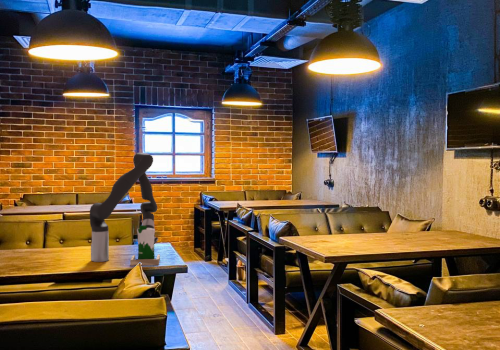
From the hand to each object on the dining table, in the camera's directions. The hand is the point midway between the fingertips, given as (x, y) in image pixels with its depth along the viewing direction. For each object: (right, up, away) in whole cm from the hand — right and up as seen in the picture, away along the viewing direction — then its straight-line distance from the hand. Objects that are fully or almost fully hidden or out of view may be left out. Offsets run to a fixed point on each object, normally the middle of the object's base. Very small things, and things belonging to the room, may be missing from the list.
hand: (147, 251), depth 293 cm
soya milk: (+1, -4, -5) cm, 6 cm away
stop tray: (+2, -4, -14) cm, 14 cm away
